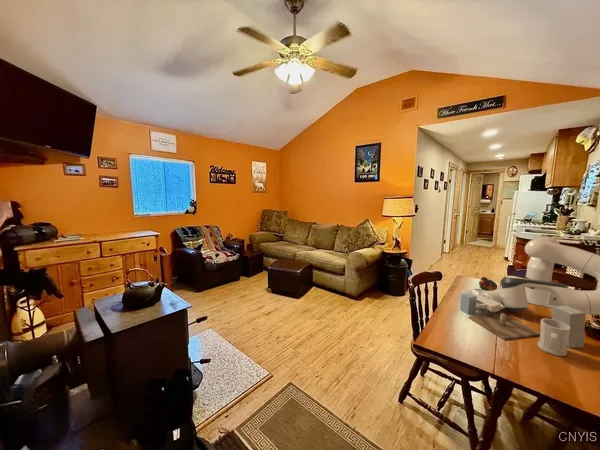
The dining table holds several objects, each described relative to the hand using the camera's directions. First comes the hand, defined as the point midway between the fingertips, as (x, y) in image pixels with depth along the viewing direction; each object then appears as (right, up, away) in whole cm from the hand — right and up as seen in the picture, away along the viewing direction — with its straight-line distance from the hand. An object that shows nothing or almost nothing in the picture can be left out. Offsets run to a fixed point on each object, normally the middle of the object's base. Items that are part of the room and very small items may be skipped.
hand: (468, 302), depth 138 cm
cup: (+14, -11, -33) cm, 37 cm away
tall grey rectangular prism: (0, -6, +1) cm, 6 cm away
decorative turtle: (+32, -1, +28) cm, 42 cm away
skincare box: (+25, -10, -27) cm, 38 cm away
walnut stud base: (+8, -8, -14) cm, 17 cm away
